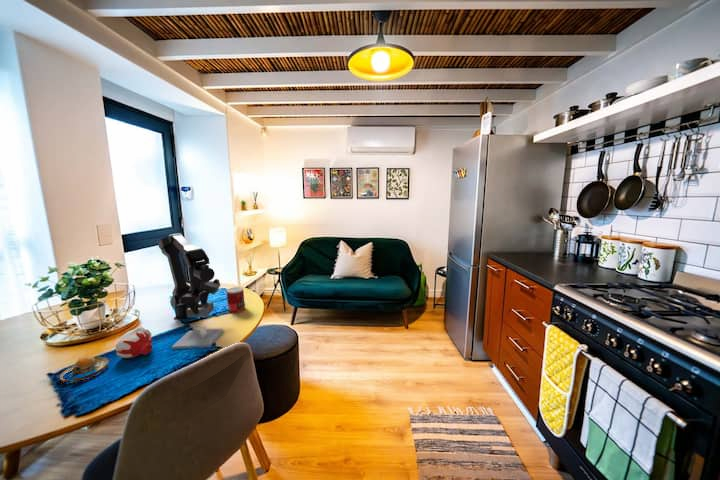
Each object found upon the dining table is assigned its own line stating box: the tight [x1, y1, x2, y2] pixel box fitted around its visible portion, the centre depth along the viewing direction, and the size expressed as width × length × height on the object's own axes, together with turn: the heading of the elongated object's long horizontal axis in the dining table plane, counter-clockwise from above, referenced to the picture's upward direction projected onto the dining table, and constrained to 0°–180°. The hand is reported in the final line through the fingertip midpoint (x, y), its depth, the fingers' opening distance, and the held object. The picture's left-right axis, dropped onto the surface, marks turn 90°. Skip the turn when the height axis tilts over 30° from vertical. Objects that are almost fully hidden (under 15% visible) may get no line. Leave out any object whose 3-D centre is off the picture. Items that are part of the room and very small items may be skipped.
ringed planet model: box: [57, 355, 110, 383], centre depth 86 cm, size 12×12×8 cm
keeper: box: [171, 326, 224, 350], centre depth 106 cm, size 14×12×5 cm
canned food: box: [226, 286, 246, 314], centre depth 133 cm, size 8×8×11 cm
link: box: [186, 302, 215, 318], centre depth 115 cm, size 8×7×4 cm
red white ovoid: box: [115, 325, 153, 360], centre depth 96 cm, size 9×11×15 cm
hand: (200, 310), depth 115 cm, fingers closed on link, 7 cm apart
